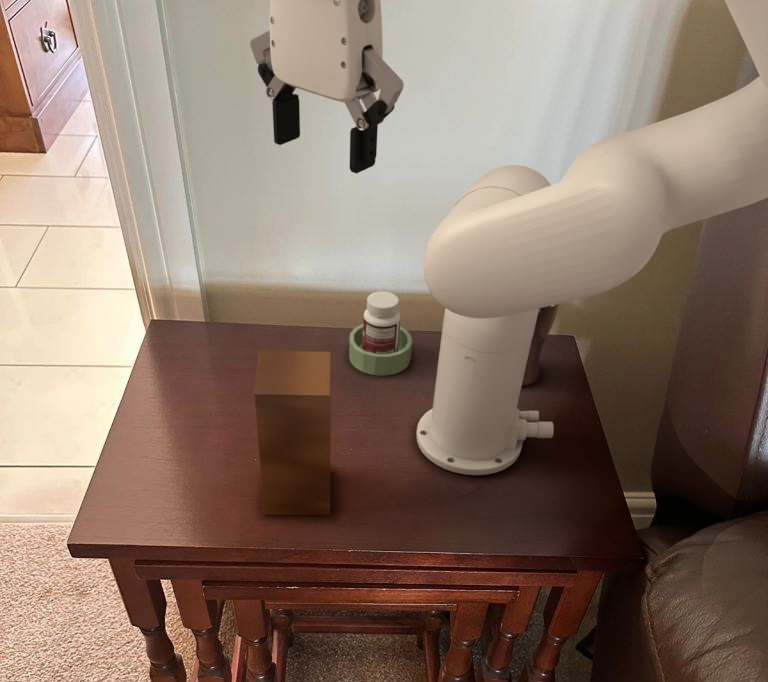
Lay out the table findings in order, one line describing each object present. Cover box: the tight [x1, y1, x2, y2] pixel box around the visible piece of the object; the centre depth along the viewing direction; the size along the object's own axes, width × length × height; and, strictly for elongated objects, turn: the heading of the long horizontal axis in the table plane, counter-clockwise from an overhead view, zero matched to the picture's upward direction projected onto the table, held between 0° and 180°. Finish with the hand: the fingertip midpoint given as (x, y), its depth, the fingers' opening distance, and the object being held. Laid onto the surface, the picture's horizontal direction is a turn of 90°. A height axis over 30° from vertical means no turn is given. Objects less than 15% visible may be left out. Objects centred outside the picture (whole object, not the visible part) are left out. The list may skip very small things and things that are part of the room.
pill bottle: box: [362, 290, 402, 354], centre depth 101 cm, size 5×5×8 cm
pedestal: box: [253, 350, 332, 516], centre depth 80 cm, size 7×7×16 cm
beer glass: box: [521, 304, 560, 387], centre depth 98 cm, size 7×7×15 cm
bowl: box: [348, 323, 413, 377], centre depth 103 cm, size 8×8×3 cm
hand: (324, 154), depth 76 cm, fingers open, 9 cm apart
